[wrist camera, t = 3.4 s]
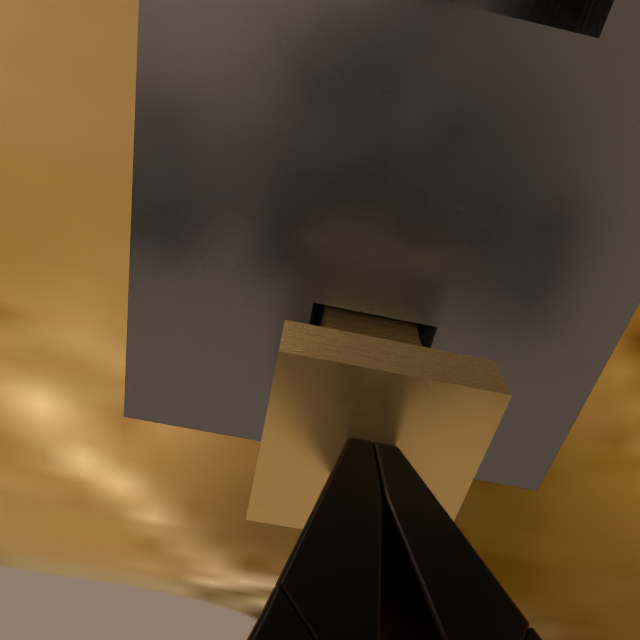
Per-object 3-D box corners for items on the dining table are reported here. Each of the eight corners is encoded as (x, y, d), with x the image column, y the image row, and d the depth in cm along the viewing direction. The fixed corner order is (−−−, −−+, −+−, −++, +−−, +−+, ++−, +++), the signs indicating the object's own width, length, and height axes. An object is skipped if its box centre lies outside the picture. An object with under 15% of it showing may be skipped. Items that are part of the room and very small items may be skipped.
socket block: (484, 376, 17) (536, 490, 13) (181, 317, 16) (124, 416, 12) (780, -321, 10) (1148, -628, 5) (254, -477, 9) (174, -978, 5)
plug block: (401, 363, 15) (439, 552, 10) (280, 339, 15) (245, 520, 9) (438, 249, 14) (512, 395, 8) (304, 221, 13) (279, 350, 8)
